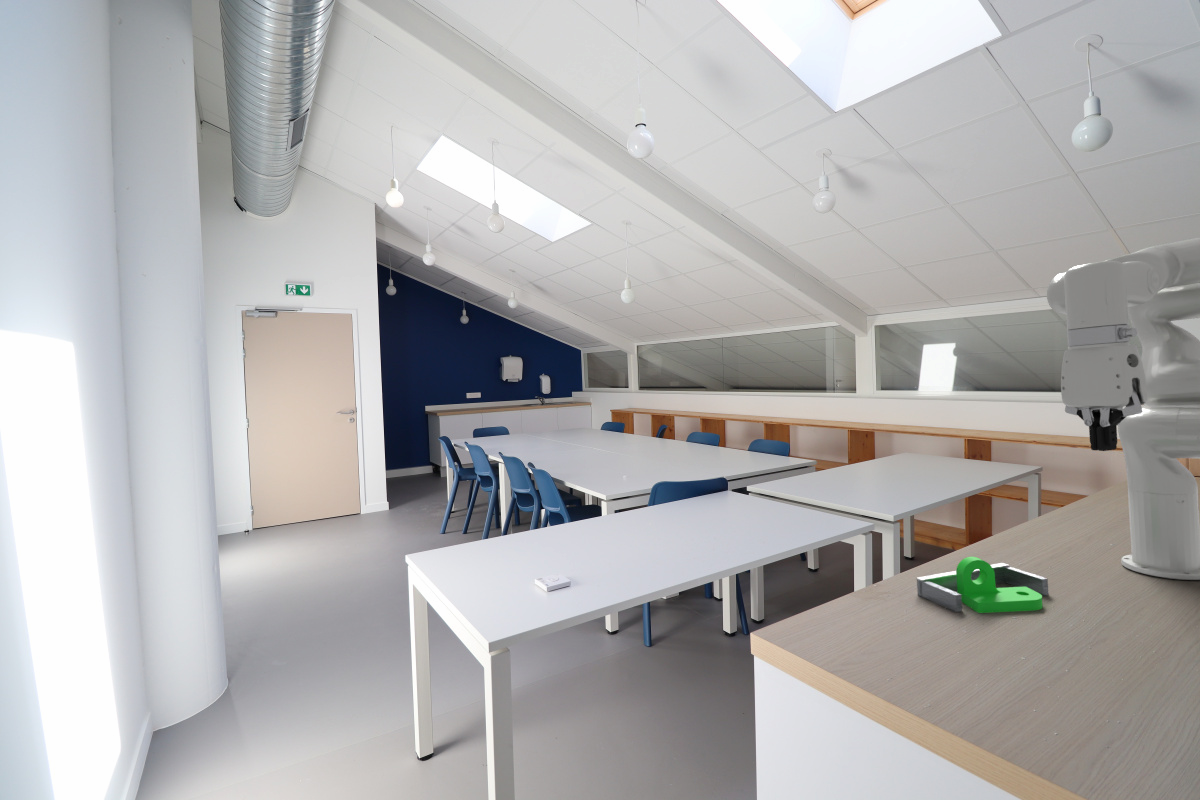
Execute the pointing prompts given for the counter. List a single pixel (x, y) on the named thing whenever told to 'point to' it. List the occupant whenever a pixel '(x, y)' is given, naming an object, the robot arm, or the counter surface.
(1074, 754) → the counter surface
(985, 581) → the mechanical part
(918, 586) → the steel bracket
